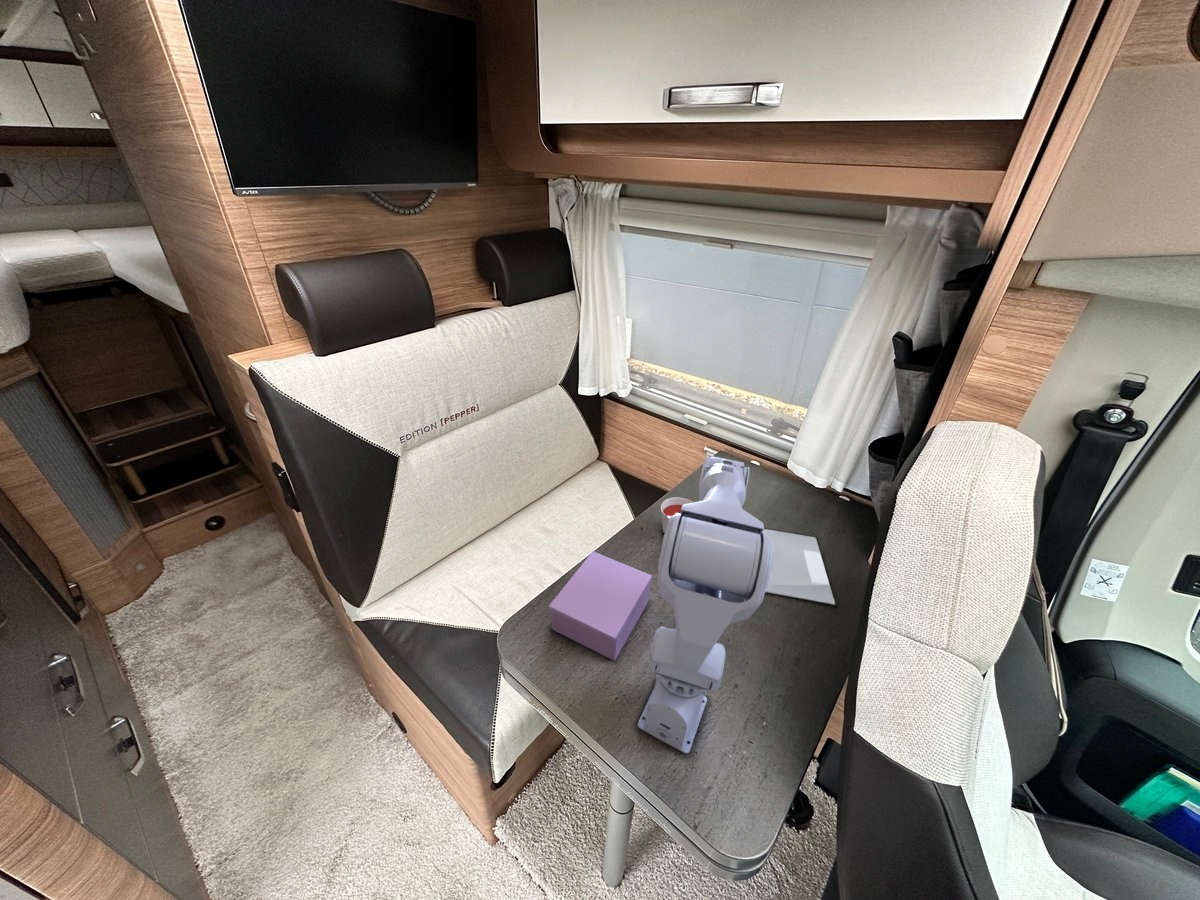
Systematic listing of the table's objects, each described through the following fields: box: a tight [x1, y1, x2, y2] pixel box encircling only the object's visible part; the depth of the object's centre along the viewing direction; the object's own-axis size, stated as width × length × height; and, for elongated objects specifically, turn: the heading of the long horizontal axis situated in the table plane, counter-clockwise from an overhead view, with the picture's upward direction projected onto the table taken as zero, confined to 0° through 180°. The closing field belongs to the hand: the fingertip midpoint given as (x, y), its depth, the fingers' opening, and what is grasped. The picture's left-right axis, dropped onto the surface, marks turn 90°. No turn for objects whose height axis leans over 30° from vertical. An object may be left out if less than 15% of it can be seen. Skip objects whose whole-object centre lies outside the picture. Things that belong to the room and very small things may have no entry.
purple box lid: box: [548, 550, 653, 640], centre depth 83 cm, size 16×13×1 cm
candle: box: [660, 497, 695, 535], centre depth 107 cm, size 9×9×6 cm
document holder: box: [762, 528, 836, 606], centre depth 101 cm, size 20×1×20 cm
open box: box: [551, 579, 653, 662], centre depth 85 cm, size 15×13×6 cm
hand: (698, 588), depth 80 cm, fingers closed
